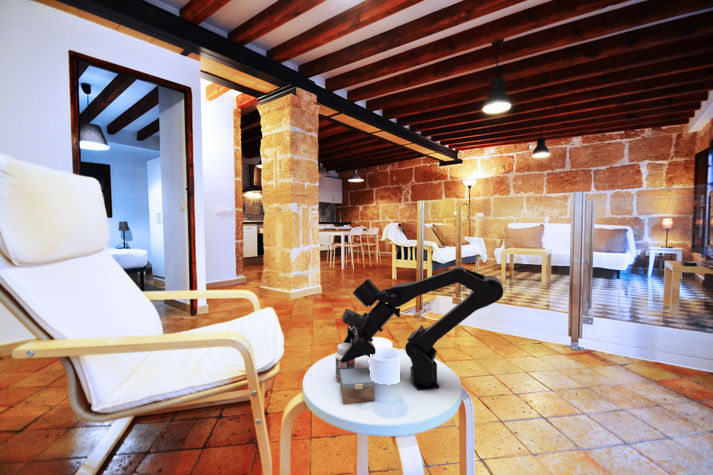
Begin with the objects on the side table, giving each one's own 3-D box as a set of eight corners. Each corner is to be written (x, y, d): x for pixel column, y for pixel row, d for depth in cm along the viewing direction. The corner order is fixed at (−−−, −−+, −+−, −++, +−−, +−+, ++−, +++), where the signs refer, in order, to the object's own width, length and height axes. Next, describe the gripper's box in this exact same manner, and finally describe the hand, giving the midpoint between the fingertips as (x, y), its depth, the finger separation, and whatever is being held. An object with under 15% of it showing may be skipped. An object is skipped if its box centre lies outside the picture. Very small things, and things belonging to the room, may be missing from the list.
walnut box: (368, 384, 86) (368, 371, 86) (374, 401, 78) (374, 386, 78) (340, 387, 85) (340, 373, 85) (343, 404, 77) (343, 388, 77)
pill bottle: (352, 384, 86) (352, 350, 86) (333, 382, 87) (333, 349, 87) (356, 374, 92) (356, 342, 91) (338, 373, 93) (338, 341, 92)
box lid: (368, 371, 86) (368, 367, 86) (374, 387, 77) (374, 382, 77) (339, 374, 85) (339, 369, 85) (343, 390, 76) (342, 385, 76)
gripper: (353, 293, 98) (319, 328, 97) (363, 309, 80) (321, 353, 79) (377, 315, 100) (344, 350, 99) (392, 336, 81) (352, 379, 80)
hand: (340, 357), depth 89 cm, fingers closed on pill bottle, 6 cm apart
